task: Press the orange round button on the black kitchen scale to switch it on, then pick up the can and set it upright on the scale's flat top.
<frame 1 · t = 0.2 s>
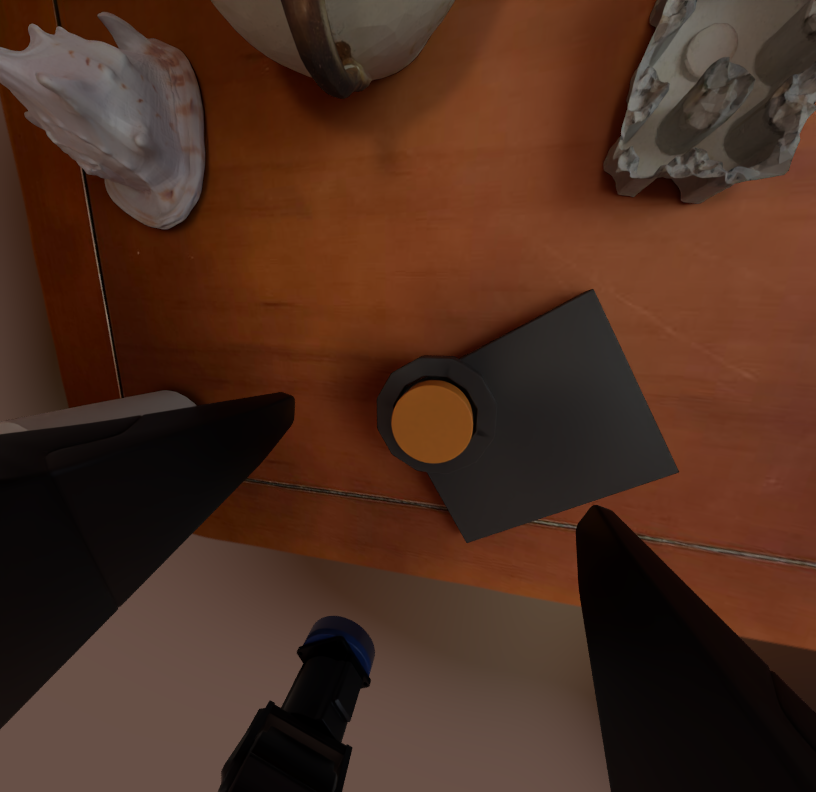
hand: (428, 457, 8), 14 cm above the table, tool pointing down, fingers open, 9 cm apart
seashell: (157, 143, 22), on the table
can: (185, 426, 28), on the table
sugar bowl: (375, 3, 18), on the table
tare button: (432, 420, 19), point 4 cm above the table, slide at 0.1 cm
egg carton: (693, 98, 16), on the table
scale: (518, 427, 21), on the table
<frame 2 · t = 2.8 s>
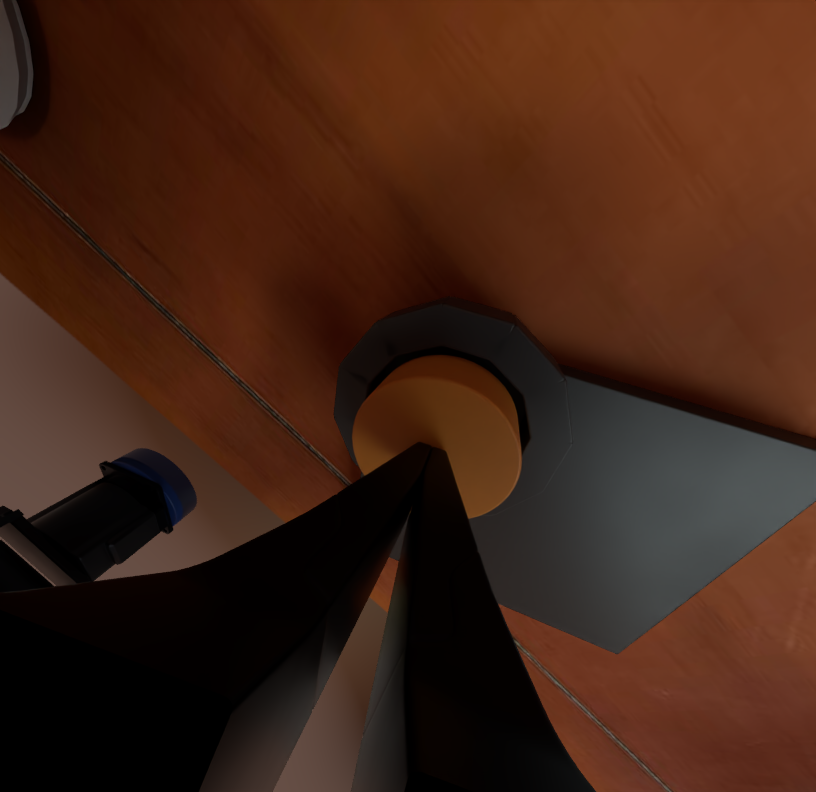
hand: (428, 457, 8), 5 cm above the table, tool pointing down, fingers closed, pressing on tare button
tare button: (436, 438, 9), point 4 cm above the table, slide at 0.1 cm, touching gripper
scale: (519, 495, 14), on the table
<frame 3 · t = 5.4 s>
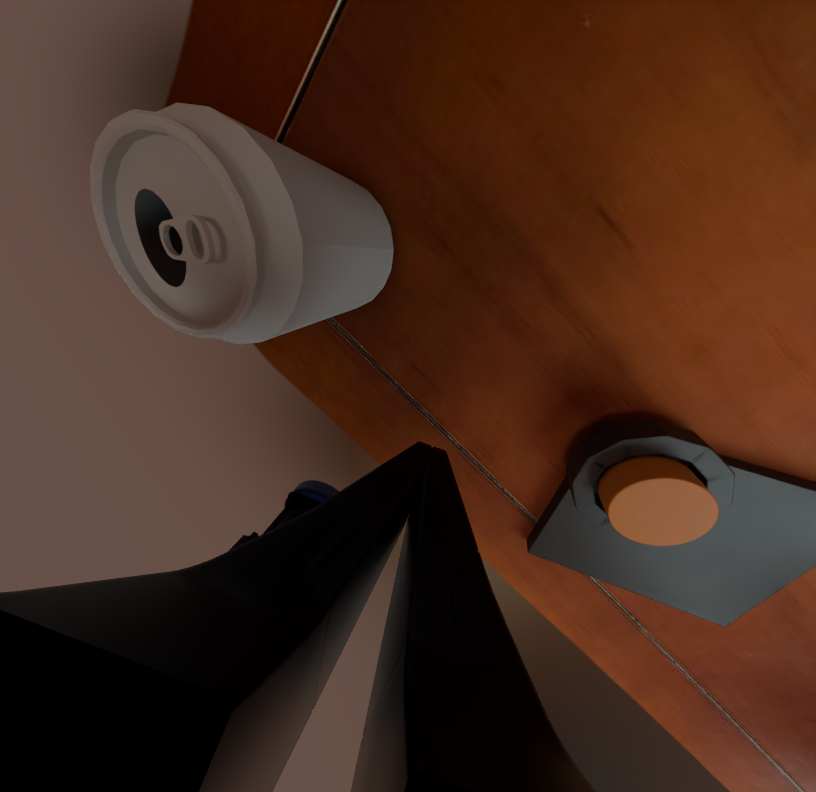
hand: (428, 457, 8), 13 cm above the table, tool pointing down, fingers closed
can: (346, 249, 19), on the table
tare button: (652, 500, 17), point 4 cm above the table, slide at 0.1 cm
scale: (663, 523, 21), on the table
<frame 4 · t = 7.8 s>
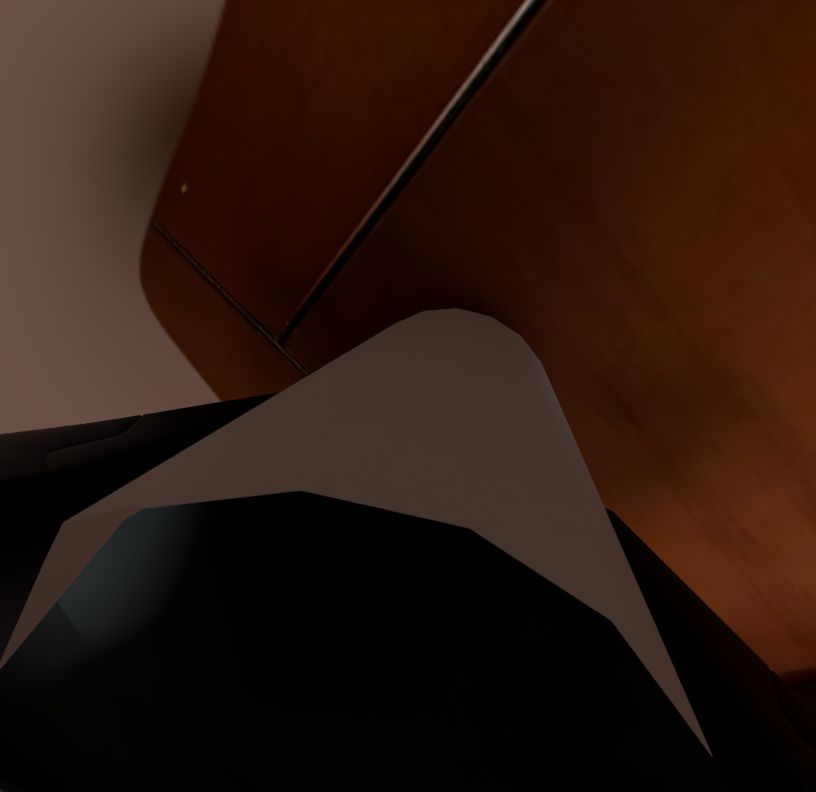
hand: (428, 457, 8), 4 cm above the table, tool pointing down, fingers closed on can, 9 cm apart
can: (450, 394, 12), on the table, touching gripper
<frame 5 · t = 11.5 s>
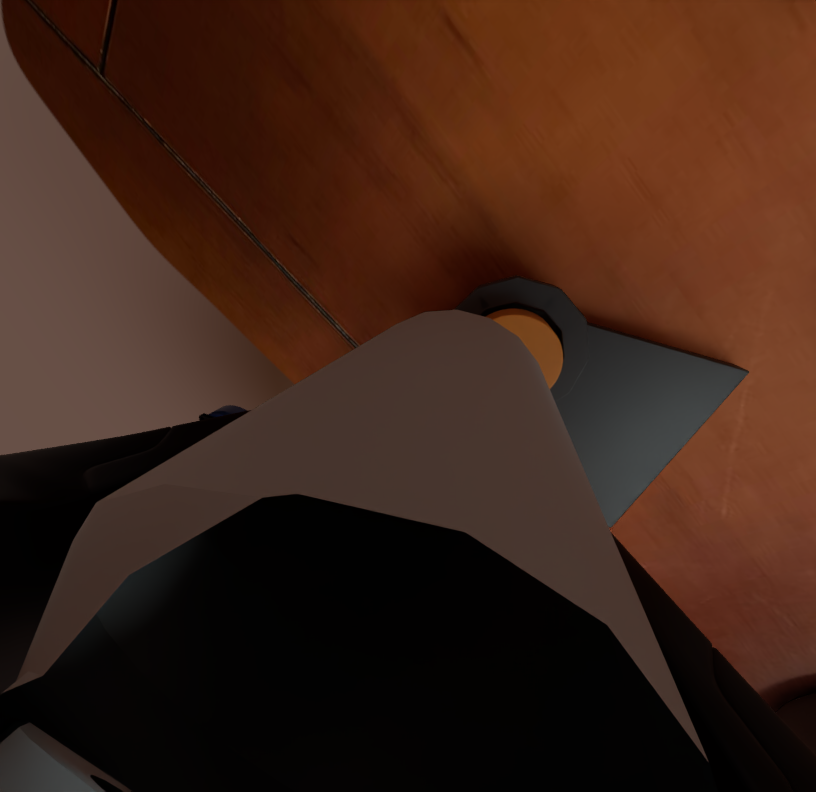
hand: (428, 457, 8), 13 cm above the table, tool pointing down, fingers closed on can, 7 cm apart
can: (449, 394, 13), point 8 cm above the table, touching gripper
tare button: (509, 357, 16), point 4 cm above the table, slide at 0.1 cm
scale: (547, 414, 20), on the table
when the fingers open (6 cm above the table, at t = 14.9 s): can stays where it is, resting on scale.
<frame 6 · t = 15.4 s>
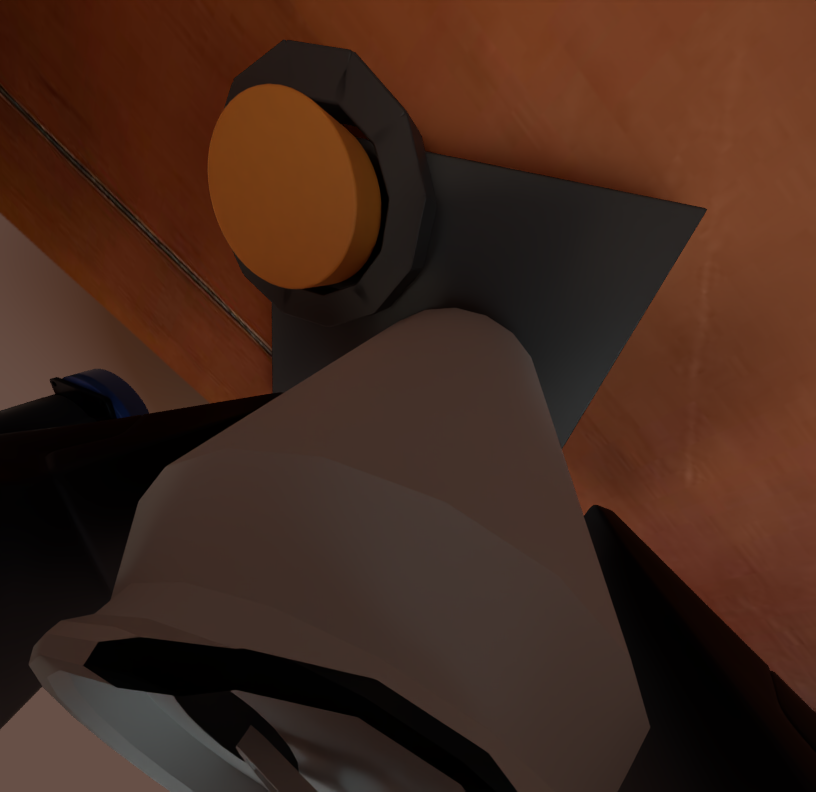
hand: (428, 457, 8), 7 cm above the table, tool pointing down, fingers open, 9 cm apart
can: (449, 387, 13), point 1 cm above the table, touching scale
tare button: (298, 204, 9), point 4 cm above the table, slide at 0.1 cm
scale: (425, 335, 14), on the table
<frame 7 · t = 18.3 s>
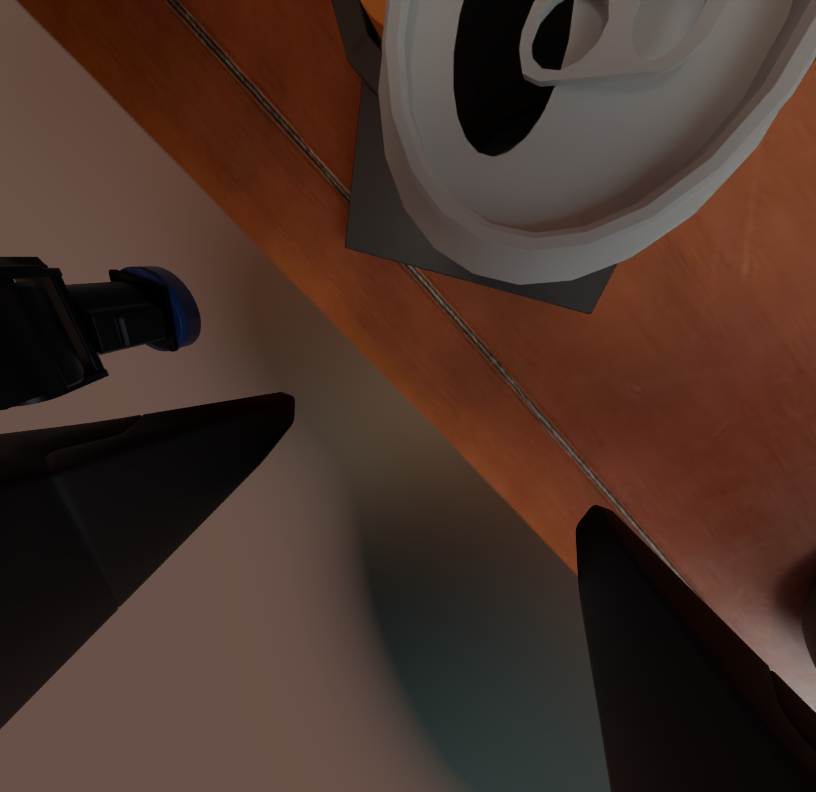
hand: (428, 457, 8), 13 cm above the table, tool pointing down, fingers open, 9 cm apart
can: (523, 189, 15), point 1 cm above the table, touching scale
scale: (500, 146, 15), on the table
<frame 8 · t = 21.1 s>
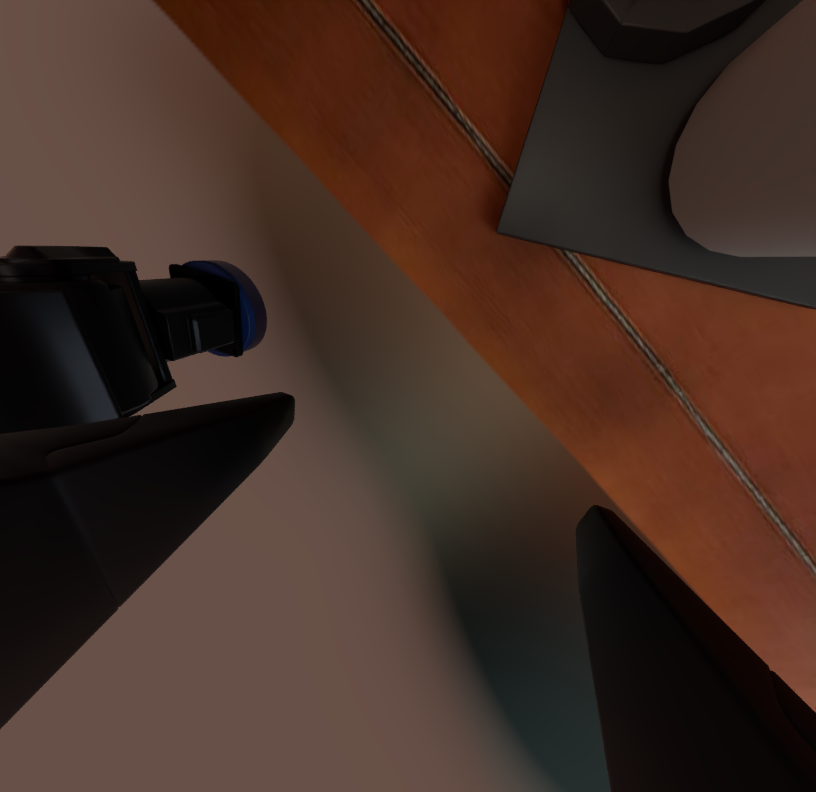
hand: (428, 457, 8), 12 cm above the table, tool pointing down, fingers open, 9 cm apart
can: (773, 151, 11), point 1 cm above the table, touching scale
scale: (736, 96, 12), on the table
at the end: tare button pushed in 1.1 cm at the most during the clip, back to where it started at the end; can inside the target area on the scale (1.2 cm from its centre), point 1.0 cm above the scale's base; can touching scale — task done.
